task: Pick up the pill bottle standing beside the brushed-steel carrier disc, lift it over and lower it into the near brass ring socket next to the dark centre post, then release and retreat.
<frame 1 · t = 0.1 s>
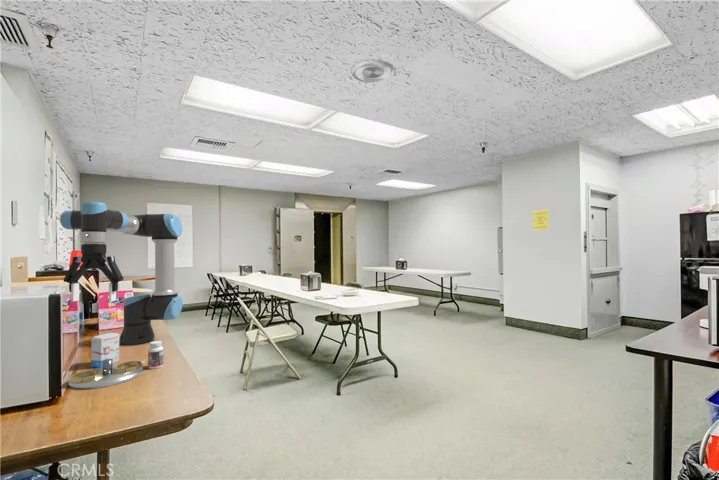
hand: (93, 300, 129), 28 cm above the table, fingers open, 13 cm apart
pill bottle: (155, 367, 138), on the table
ink box: (105, 364, 142), on the table
carrier: (107, 376, 127), on the table
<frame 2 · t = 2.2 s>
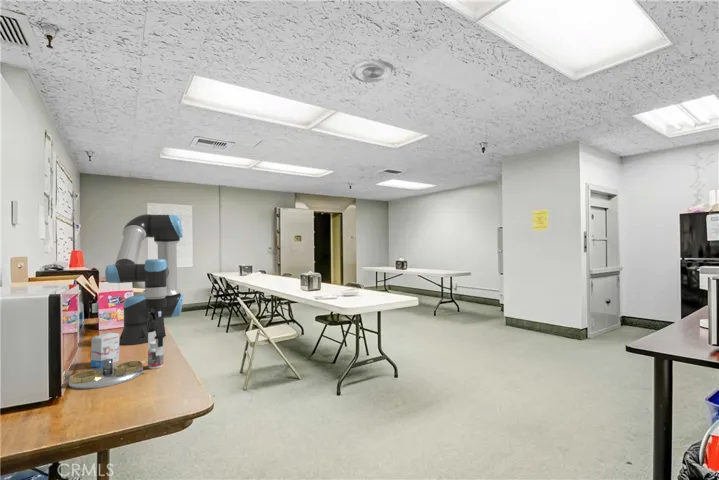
hand: (155, 351, 138), 6 cm above the table, fingers open, 13 cm apart
nothing on the table moved.
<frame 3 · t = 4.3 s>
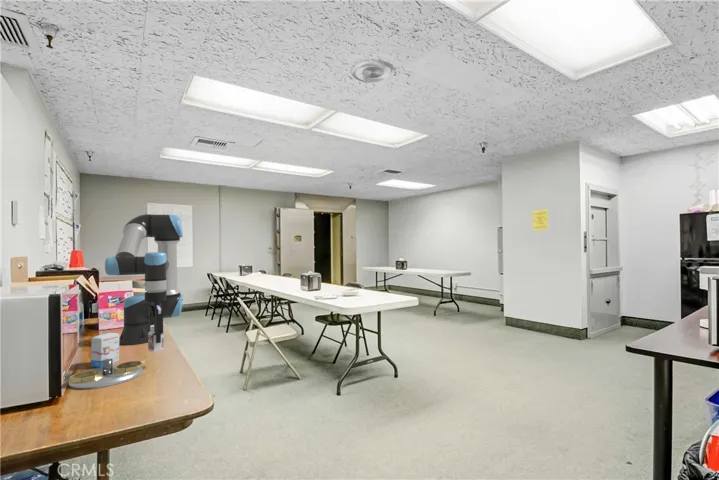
hand: (156, 348, 139), 7 cm above the table, fingers closed on pill bottle, 5 cm apart
pill bottle: (156, 350, 139), point 6 cm above the table, touching gripper
everything else where it was.
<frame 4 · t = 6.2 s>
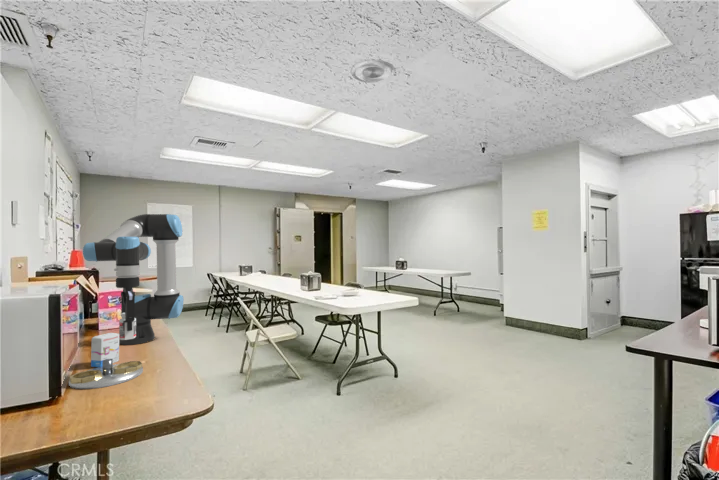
hand: (127, 337, 132), 13 cm above the table, fingers closed on pill bottle, 5 cm apart
pill bottle: (127, 338, 132), point 13 cm above the table, touching gripper
everything else where it was.
when the fingers open (4 cm above the table, at t = 8.1 s): pill bottle drops 2 cm, resting on carrier.
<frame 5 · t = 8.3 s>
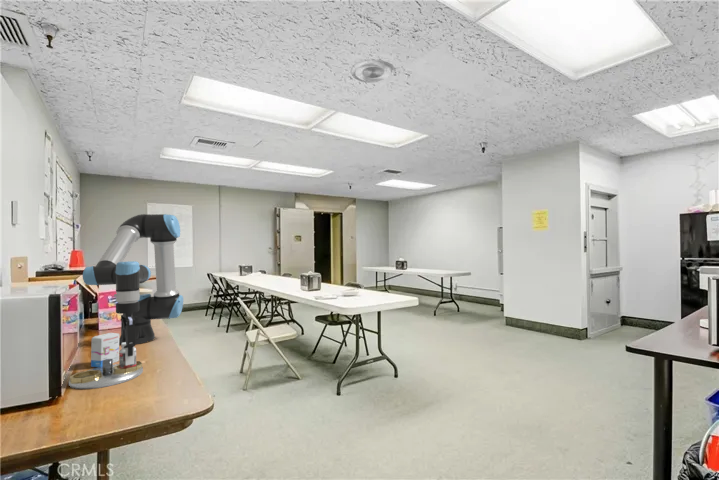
hand: (127, 361, 132), 4 cm above the table, fingers open, 8 cm apart
pill bottle: (128, 369, 132), point 1 cm above the table, touching carrier
everything else where it was.
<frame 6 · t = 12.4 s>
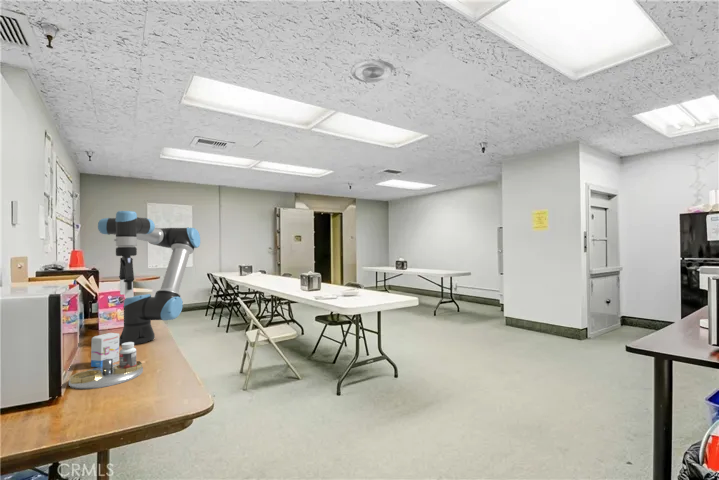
hand: (126, 295, 150), 27 cm above the table, fingers open, 13 cm apart
nothing on the table moved.
at the end: pill bottle 0.0 cm from the target spot on the carrier, point 1.0 cm above the carrier's base; pill bottle tilted 0°; the gripper is holding nothing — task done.
